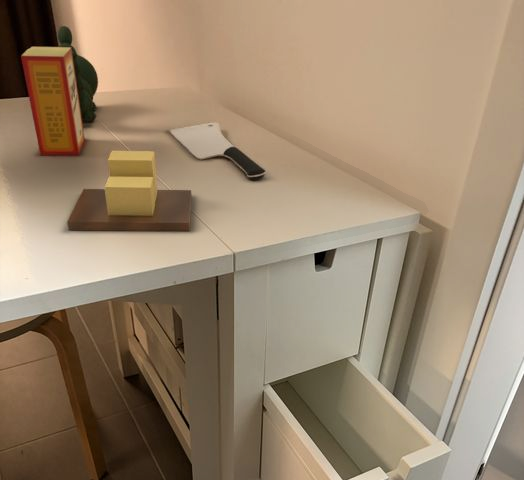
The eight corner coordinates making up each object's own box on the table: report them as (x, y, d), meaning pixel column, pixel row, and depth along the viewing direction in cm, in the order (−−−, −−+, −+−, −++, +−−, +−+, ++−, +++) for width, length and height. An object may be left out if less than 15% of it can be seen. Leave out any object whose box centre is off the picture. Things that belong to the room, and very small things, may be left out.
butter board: (68, 230, 74) (66, 221, 73) (84, 196, 83) (83, 188, 82) (189, 230, 75) (189, 222, 74) (191, 197, 85) (191, 190, 84)
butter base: (112, 201, 79) (107, 159, 75) (116, 191, 82) (111, 150, 79) (155, 202, 79) (152, 160, 76) (157, 192, 83) (154, 151, 79)
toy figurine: (104, 139, 112) (100, 98, 130) (90, 34, 99) (89, 4, 117) (55, 140, 110) (58, 98, 128) (35, 33, 97) (42, 3, 115)
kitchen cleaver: (168, 126, 112) (215, 117, 114) (170, 135, 113) (216, 126, 115) (216, 179, 89) (273, 166, 91) (217, 189, 90) (274, 176, 92)
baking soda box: (49, 139, 105) (31, 44, 95) (84, 139, 106) (70, 44, 96) (40, 155, 97) (20, 53, 88) (78, 155, 98) (62, 54, 89)
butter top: (112, 204, 78) (108, 215, 75) (108, 176, 76) (104, 186, 73) (155, 204, 79) (152, 215, 76) (153, 176, 76) (150, 187, 73)
